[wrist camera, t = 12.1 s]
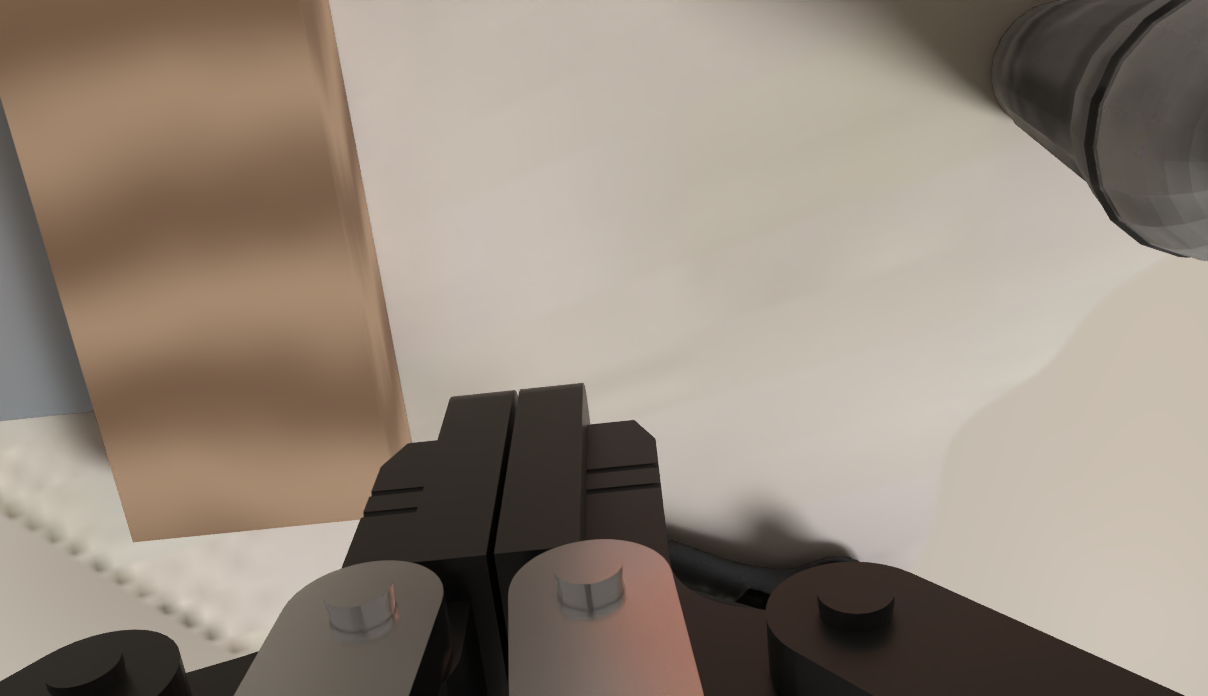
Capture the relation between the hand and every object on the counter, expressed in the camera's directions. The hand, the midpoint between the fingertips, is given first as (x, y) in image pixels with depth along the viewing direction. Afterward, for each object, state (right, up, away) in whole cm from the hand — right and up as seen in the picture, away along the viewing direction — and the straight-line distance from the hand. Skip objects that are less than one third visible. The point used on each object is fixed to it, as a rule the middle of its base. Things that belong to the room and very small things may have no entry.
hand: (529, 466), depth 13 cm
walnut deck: (-13, +7, +28) cm, 32 cm away
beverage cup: (+17, +11, +27) cm, 34 cm away
